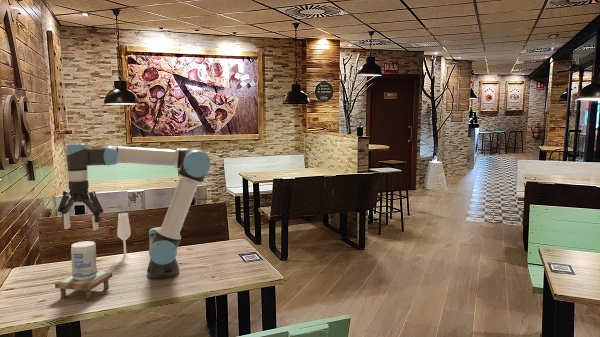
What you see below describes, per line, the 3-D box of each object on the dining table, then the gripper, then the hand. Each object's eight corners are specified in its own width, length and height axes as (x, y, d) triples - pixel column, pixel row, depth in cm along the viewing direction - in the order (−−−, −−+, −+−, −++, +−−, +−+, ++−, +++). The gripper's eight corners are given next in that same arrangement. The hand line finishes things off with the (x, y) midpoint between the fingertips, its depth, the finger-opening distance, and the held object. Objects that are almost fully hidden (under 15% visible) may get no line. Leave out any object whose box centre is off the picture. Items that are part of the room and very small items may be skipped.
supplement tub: (73, 282, 182) (71, 248, 181) (71, 275, 190) (69, 243, 188) (99, 277, 188) (97, 244, 186) (95, 271, 196) (93, 239, 194)
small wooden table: (113, 287, 196) (112, 271, 195) (89, 302, 181) (88, 285, 180) (81, 284, 199) (80, 269, 198) (56, 299, 184) (54, 282, 183)
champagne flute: (132, 254, 241) (130, 212, 238) (131, 258, 235) (129, 215, 231) (119, 255, 239) (116, 213, 236) (118, 259, 232) (115, 216, 229)
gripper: (110, 179, 185) (113, 228, 188) (58, 177, 190) (62, 225, 192) (99, 182, 178) (102, 232, 181) (45, 180, 182) (49, 229, 185)
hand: (81, 229), depth 186 cm, fingers open, 13 cm apart
